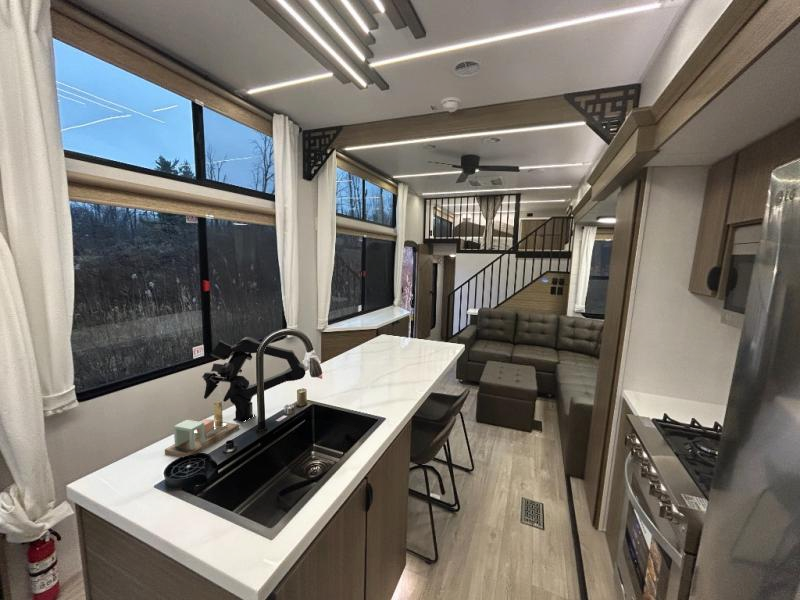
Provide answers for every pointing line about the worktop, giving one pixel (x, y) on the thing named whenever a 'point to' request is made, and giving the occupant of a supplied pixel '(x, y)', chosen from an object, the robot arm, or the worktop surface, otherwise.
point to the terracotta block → (207, 425)
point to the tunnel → (188, 432)
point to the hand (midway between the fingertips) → (214, 399)
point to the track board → (185, 447)
